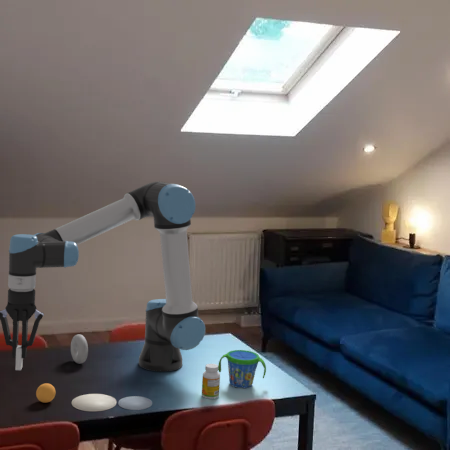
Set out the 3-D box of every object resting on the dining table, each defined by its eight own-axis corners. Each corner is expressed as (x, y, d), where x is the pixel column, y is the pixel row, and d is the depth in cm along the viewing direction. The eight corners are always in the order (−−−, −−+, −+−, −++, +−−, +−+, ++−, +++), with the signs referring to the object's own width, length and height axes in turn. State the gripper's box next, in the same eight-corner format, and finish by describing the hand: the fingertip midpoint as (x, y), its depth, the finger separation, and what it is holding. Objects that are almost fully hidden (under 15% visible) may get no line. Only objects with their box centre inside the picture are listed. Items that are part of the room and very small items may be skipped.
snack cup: (268, 383, 228) (270, 353, 226) (260, 394, 218) (262, 363, 216) (223, 375, 232) (225, 346, 231) (213, 386, 222) (215, 355, 221)
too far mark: (152, 397, 210) (152, 396, 210) (152, 410, 200) (152, 409, 200) (118, 396, 209) (118, 396, 209) (117, 409, 199) (117, 409, 199)
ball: (56, 398, 204) (57, 380, 204) (54, 405, 199) (54, 387, 198) (37, 398, 204) (38, 380, 203) (34, 405, 198) (34, 387, 198)
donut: (89, 366, 233) (90, 338, 232) (79, 368, 231) (80, 339, 230) (78, 357, 242) (78, 330, 240) (68, 359, 240) (69, 331, 238)
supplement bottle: (201, 392, 216) (202, 362, 215) (218, 392, 217) (220, 363, 215) (201, 398, 211) (203, 368, 210) (219, 399, 211) (221, 368, 210)
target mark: (117, 394, 210) (117, 394, 210) (115, 411, 197) (115, 411, 197) (74, 394, 209) (74, 393, 209) (69, 411, 196) (69, 410, 196)
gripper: (-5, 290, 192) (-8, 372, 195) (43, 292, 193) (39, 373, 196) (1, 284, 199) (-2, 363, 202) (47, 287, 201) (43, 365, 203)
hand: (18, 368), depth 199 cm, fingers closed
